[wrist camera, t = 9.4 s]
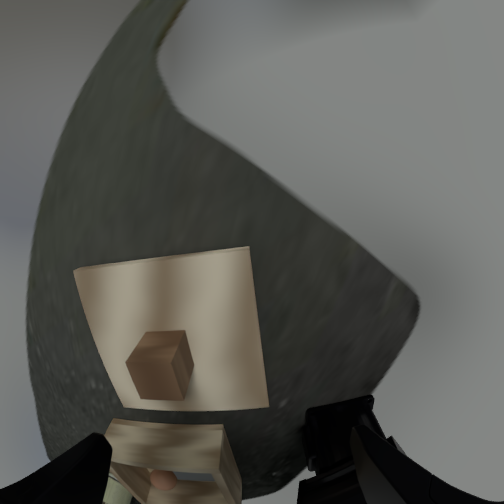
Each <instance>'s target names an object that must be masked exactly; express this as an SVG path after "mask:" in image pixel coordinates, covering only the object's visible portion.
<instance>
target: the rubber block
mask: <svg viewBox="0 0 504 504" xmlns="http://www.w3.org/2000/svg"><path fill="white" fill-rule="evenodd" d="M173 473H174V474H175V476H176V477H177V479H181V480H194V481H215V480H214V478H213V476H212V474H211V473H188V472H175V471H173Z"/></svg>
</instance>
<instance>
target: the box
mask: <svg viewBox="0 0 504 504" xmlns="http://www.w3.org/2000/svg"><path fill="white" fill-rule="evenodd" d="M104 436H105V437H106V439H107V440H108V442H109V443H110V445H111V446H112V449H113V452H112V458H111V465H110V472H111V473H112V474H113V475H114V477H115V478H116V479H117V480H118V481H119V482H120V483H121V484H122V485H123V486H124V487H125V488H126V489H127V490H128V491H129V492H130V493H131V494H132V495H133V496H134V497H135V498H136V499H137V500H138V501H139V502H140V503H141V504H241V501H242V479H241V476H240V473H239V470H238V468H237V465H236V462H235V459H234V456H233V453H232V450H231V447H230V444H229V441H228V438H227V435H226V432H225V429H224V426H223V424H215V425H188V424H164V423H150V422H139V421H130V420H123V419H115V418H113V420H112V421H111V423H110V425H109V427H108V429H107V431H106V433H105V435H104ZM154 469H157V470H166V471H172V472H173V471H175V472H188V473H211V474H212V476H213V478H214V480H215V481H194V480H181V479H177V484H176V486H175V487H174V488H173V489H171V490H168V491H162V490H159V489H157V488H155V487H154V486H153V485H152V483H151V481H150V474H151V472H152V471H153V470H154Z"/></svg>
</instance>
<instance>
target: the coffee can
mask: <svg viewBox="0 0 504 504" xmlns="http://www.w3.org/2000/svg"><path fill="white" fill-rule="evenodd" d="M132 496H133V495H132V494H131V493H130V492H129V491H128V490H127V489H126V488H125V487H124V486H123V485H122V484H121V483H120V482H119V481H118V480H117V479H116V478H115V477H114V475H113V474H112V473H110V472H109V478H108V483H107V487H106V491H105V495H104V499H103V503H102V504H130V502H131V499H132Z"/></svg>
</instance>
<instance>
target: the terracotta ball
mask: <svg viewBox="0 0 504 504" xmlns="http://www.w3.org/2000/svg"><path fill="white" fill-rule="evenodd" d="M150 481H151V483H152V485H153V486H154V487H155V488H157V489H159V490H162V491H168V490H171V489H173V488H174V487H175V486H176V484H177V477H176V476H175V474H174V473H173V472H172V471H166V470H157V469H154V470H153V471H152V472H151V474H150Z"/></svg>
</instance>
